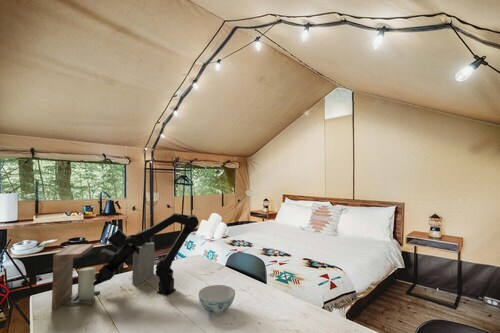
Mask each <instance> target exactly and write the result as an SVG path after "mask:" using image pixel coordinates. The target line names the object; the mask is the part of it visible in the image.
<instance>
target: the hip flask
mask: <svg viewBox="0 0 500 333" xmlns="http://www.w3.org/2000/svg"><path fill="white" fill-rule="evenodd" d="M138 247H141V248H140V253H139V254H137V253H136V252H135V253H134V254H133V255H132V277H131V278H132V280H131V281H132V282H131V284H132V285H133V286H134V285H135V286H137V285H139V284H140V283H142V282H143V281H144V280H147V278H150V277H152V276H154V274H155V242H152V241H151V242H148V241H147V242H146V243H144V244H143V245H142V246H138Z"/></svg>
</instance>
